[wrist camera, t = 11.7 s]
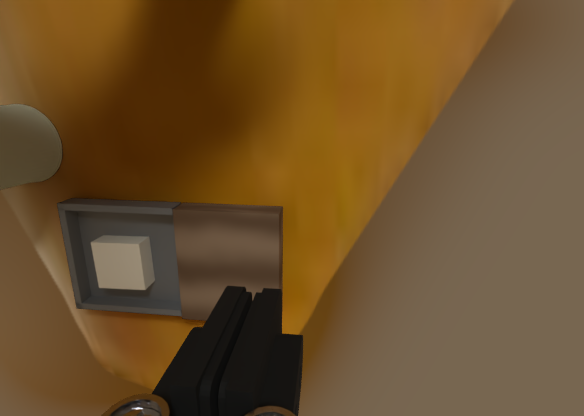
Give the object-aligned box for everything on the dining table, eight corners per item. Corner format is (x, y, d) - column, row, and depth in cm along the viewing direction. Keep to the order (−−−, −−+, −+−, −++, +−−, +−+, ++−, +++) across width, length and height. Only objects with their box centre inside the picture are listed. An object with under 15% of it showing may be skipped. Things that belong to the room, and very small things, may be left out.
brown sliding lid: (183, 202, 41) (172, 209, 38) (282, 206, 40) (279, 214, 37) (191, 305, 45) (182, 318, 42) (282, 311, 44) (278, 325, 41)
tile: (138, 244, 40) (149, 236, 42) (90, 242, 40) (103, 235, 43) (145, 290, 41) (155, 280, 44) (99, 287, 42) (111, 278, 44)
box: (72, 198, 42) (56, 203, 40) (181, 202, 41) (171, 208, 39) (89, 298, 46) (76, 308, 44) (189, 305, 45) (181, 316, 43)
